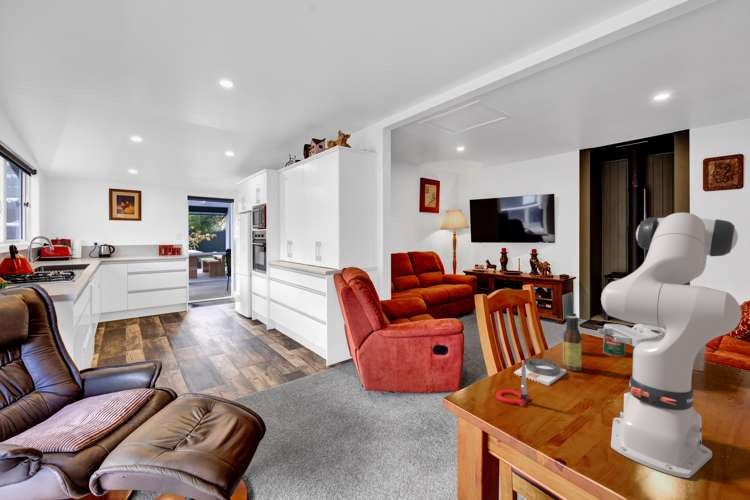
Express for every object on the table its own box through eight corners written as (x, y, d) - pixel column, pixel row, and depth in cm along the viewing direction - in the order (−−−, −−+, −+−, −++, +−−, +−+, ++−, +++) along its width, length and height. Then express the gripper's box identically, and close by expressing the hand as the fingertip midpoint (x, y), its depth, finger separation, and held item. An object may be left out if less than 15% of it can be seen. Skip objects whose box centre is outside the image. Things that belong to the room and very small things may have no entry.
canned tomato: (608, 356, 139) (609, 330, 139) (599, 349, 147) (599, 325, 147) (629, 357, 138) (630, 331, 138) (618, 350, 146) (619, 326, 145)
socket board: (548, 385, 112) (548, 376, 112) (514, 374, 121) (514, 366, 121) (566, 372, 122) (566, 364, 122) (533, 363, 131) (533, 355, 131)
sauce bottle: (585, 372, 123) (586, 319, 122) (568, 372, 123) (569, 319, 122) (575, 365, 129) (576, 315, 129) (559, 365, 129) (560, 315, 129)
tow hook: (491, 400, 103) (523, 408, 97) (490, 359, 103) (521, 365, 97) (501, 390, 109) (531, 398, 103) (500, 351, 109) (530, 357, 103)
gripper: (625, 320, 134) (590, 319, 135) (666, 335, 114) (624, 335, 115) (625, 335, 134) (590, 335, 135) (666, 353, 114) (624, 352, 115)
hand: (606, 335), depth 125 cm, fingers open, 8 cm apart
